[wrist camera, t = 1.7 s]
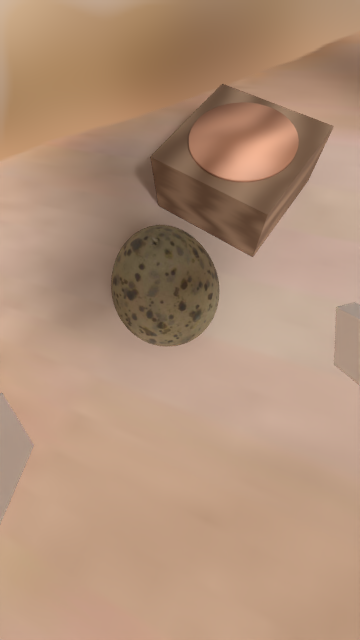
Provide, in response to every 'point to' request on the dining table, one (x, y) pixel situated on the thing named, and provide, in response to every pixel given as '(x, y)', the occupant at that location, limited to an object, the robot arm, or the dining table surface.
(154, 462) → the dining table surface
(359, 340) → the robot arm
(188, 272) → the decorative egg
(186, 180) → the pedestal
